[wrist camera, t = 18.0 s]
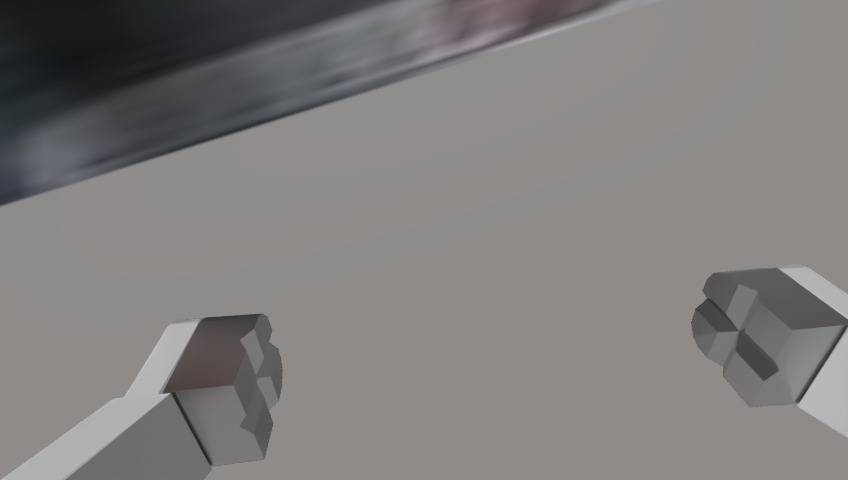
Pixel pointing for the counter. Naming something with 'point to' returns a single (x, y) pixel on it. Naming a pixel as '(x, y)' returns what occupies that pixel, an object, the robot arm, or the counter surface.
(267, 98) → the counter surface
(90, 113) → the counter surface
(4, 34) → the counter surface
